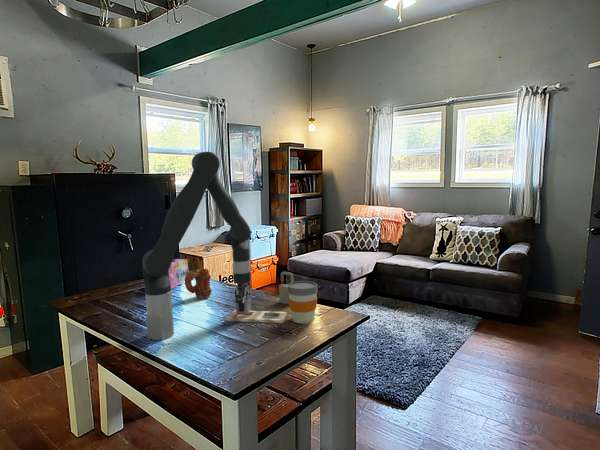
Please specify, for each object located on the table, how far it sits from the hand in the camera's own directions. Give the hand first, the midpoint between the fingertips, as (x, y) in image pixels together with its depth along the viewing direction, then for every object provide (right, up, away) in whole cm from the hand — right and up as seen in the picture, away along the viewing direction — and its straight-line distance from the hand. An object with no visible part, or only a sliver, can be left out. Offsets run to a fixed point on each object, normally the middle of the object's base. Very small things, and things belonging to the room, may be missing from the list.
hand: (243, 309), depth 163 cm
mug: (-27, -1, +28) cm, 39 cm away
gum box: (-48, +1, +54) cm, 72 cm away
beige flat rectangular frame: (+6, -4, -1) cm, 7 cm away
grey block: (0, -1, 0) cm, 1 cm away
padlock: (+18, -1, +18) cm, 26 cm away
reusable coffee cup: (+26, -4, -4) cm, 26 cm away
